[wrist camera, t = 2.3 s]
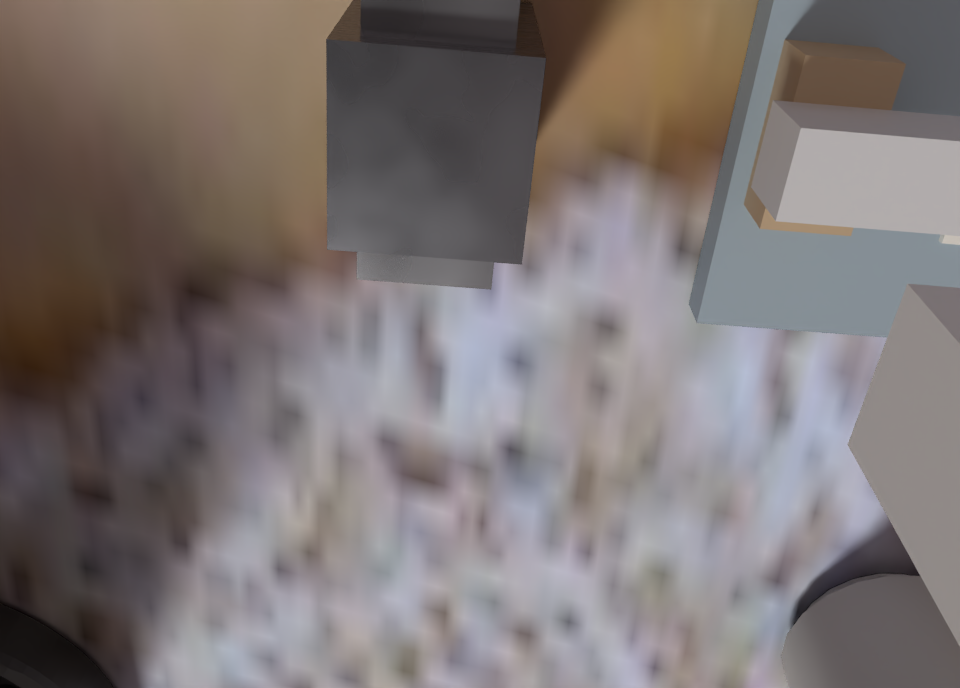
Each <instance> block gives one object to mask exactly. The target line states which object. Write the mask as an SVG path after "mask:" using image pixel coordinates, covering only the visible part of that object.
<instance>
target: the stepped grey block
mask: <svg viewBox="0 0 960 688" xmlns="http://www.w3.org/2000/svg"><path fill="white" fill-rule="evenodd" d="M326 43H327V250H340V251H353V252H357V279H360V280H373V281H387V282H400V283H413V284H426V285H440V286H453V287H466V288H479V289H491V286H492V276H493V266H494V262H497V263H510V264H522V257H523V249H524V240H525V232H526V223H527V215H528V207H529V198H530V190H531V181H532V173H533V164H534V156H535V148H536V139H537V131H538V122H539V114H540V105H541V97H542V88H543V80H544V72H545V63H546V56H545V52H544V48H543V44H542V40H541V36H540V33H539V29H538V25H537V21H536V17H535V13H534V9H533V6H532V3H522V2H520V0H353V1H352V3H351V4H350V6H349V7H348V8H347V10H346V11H345V13H344V14H343V16H342V17H341V19H340V20H339V22H338V23H337V25H336V26H335V27H334V29H333V30H332V32H331V33H330V35H329V36H328V38H327V39H326Z"/></svg>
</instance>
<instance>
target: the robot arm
mask: <svg viewBox="0 0 960 688" xmlns="http://www.w3.org/2000/svg"><path fill="white" fill-rule="evenodd" d="M848 446H849V448H850V450H851V452H852V453H853V455H854V457H855V459H856V461H857V462H858V464H859V466H860V468H861V470H862V471H863V473H864V475H865V477H866V479H867V480H868V482H869V484H870V486H871V488H872V489H873V491H874V493H875V495H876V497H877V498H878V500H879V502H880V504H881V506H882V507H883V509H884V511H885V513H886V515H887V516H888V518H889V520H890V522H891V524H892V526H893V527H894V529H895V531H896V533H897V535H898V536H899V538H900V540H901V542H902V544H903V545H904V547H905V549H906V551H907V553H908V554H909V556H910V558H911V560H912V562H913V563H914V565H915V567H916V569H917V571H918V572H919V574H920V576H921V578H922V580H923V581H924V583H925V585H926V587H927V589H928V590H929V592H930V594H931V596H932V598H933V599H934V601H935V603H936V605H937V607H938V609H939V610H940V612H941V614H942V616H943V618H944V619H945V621H946V623H947V625H948V627H949V628H950V630H951V632H952V634H953V636H954V637H955V639H956V641H957V643H958V645H959V646H960V288H955V287H942V286H930V285H918V284H907V286H906V289H905V291H904V294H903V297H902V300H901V302H900V305H899V308H898V310H897V313H896V316H895V318H894V321H893V324H892V327H891V329H890V332H889V335H888V337H887V340H886V343H885V345H884V348H883V351H882V354H881V356H880V359H879V362H878V364H877V367H876V370H875V372H874V375H873V378H872V381H871V383H870V386H869V389H868V391H867V394H866V397H865V399H864V402H863V405H862V408H861V410H860V413H859V416H858V418H857V421H856V424H855V426H854V429H853V432H852V435H851V437H850V440H849V443H848ZM0 688H113V687H112V685H111V684H110V682H109V681H108V679H107V678H106V677H105V676H104V674H103V673H102V672H101V671H100V669H99V668H98V667H97V666H96V665H95V664H94V663H93V662H92V661H91V660H90V659H89V658H88V657H87V656H86V655H85V654H83V653H82V652H81V651H80V650H79V649H78V648H76V647H75V646H74V645H73V644H71V643H70V642H69V641H67V640H66V639H65V638H63V637H62V636H60V635H59V634H57V633H56V632H54V631H53V630H51V629H50V628H48V627H46V626H45V625H43V624H41V623H39V622H38V621H36V620H34V619H32V618H30V617H28V616H26V615H24V614H22V613H20V612H18V611H16V610H13V609H11V608H9V607H7V606H4V605H2V604H0Z"/></svg>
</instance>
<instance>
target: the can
mask: <svg viewBox="0 0 960 688" xmlns="http://www.w3.org/2000/svg"><path fill="white" fill-rule="evenodd" d="M781 658H782V663H783V669H784V674H785V677H786V680H787V683H788V686H789V688H960V646H959V645H958V643H957V641H956V639H955V637H954V636H953V634H952V632H951V630H950V628H949V627H948V625H947V623H946V621H945V619H944V618H943V616H942V614H941V612H940V610H939V609H938V607H937V605H936V603H935V601H934V599H933V598H932V596H931V594H930V592H929V590H928V589H927V587H926V585H925V583H924V581H923V580H922V578H921V576H909V575H906V574H875V575H870V576H865V577H860V578H855V579H852V580H850V581H848V582H845V583H843V584H841V585H839V586H836V587H834V588H832V589H830V590H829V591H827V592H826V593H825V594H823V595H822V596H821V597H819V598H818V599H817V600H815V601H814V602H813V603H811V605H810V606H809V607H808V609H807V610H806V611H805V612H804V613H803V614H802V615H801V616H800V618H799V619H798V620H797V622H796V623H795V624H794V626H793V627H792V628H791V630H790V631H789V632H788V634H787V636H786V639H785V643H784V647H783V650H782V654H781Z"/></svg>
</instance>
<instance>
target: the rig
mask: <svg viewBox="0 0 960 688" xmlns="http://www.w3.org/2000/svg"><path fill="white" fill-rule="evenodd" d="M907 284H918V285H930V286H942V287H955V288H960V0H759V1H758V6H757V10H756V15H755V19H754V23H753V28H752V32H751V36H750V41H749V45H748V49H747V54H746V58H745V62H744V67H743V71H742V75H741V80H740V84H739V88H738V93H737V97H736V101H735V106H734V110H733V114H732V119H731V123H730V128H729V132H728V136H727V141H726V145H725V149H724V154H723V158H722V162H721V167H720V171H719V175H718V180H717V184H716V188H715V193H714V197H713V201H712V206H711V210H710V214H709V219H708V223H707V227H706V232H705V236H704V240H703V245H702V249H701V254H700V258H699V262H698V267H697V271H696V275H695V280H694V284H693V288H692V293H691V297H690V301H689V305H690V308H691V310H692V313H693V315H694V317H695V320H696V322H697V323H703V324H716V325H729V326H742V327H756V328H769V329H782V330H795V331H809V332H822V333H835V334H848V335H861V336H875V337H888V335H889V332H890V329H891V327H892V324H893V321H894V318H895V316H896V313H897V310H898V308H899V305H900V302H901V300H902V297H903V294H904V291H905V289H906V286H907Z"/></svg>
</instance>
